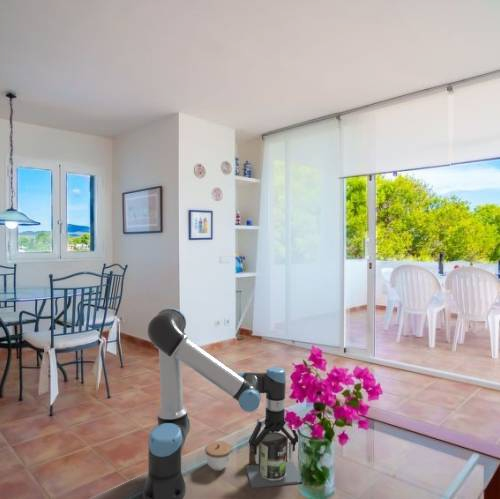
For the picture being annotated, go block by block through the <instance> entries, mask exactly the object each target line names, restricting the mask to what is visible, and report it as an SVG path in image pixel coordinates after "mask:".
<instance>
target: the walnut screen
mask: <svg viewBox="0 0 500 499" xmlns="http://www.w3.org/2000/svg"><path fill="white" fill-rule="evenodd" d="M285 436H286V435H285ZM286 438H287V436H286ZM248 444H249V443H248ZM258 446H259V464H260V458H261V442H260V443H259V445H258ZM288 451H289V439H288V438H287V442H286V462H288ZM248 452H249V453H248V463H249V465H258V464H257V463H256V460H255V455H254V453H253V446H250V444H249V450H248Z"/></svg>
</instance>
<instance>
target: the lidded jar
mask: <svg viewBox="0 0 500 499" xmlns="http://www.w3.org/2000/svg"><path fill="white" fill-rule="evenodd" d="M232 450H233V449H232V446H231V444H230V443H228V442H226V441H222V440H215V441H212V442H209V443H208V444H206V446H205V449H204V452H205V453H204V454H205V456H204V457H205V461H206V464H207V465H208V467H210V469H211V468H212V469H211V470H213V469H214V470H213V471H216V472H218V471H219V472H220V471H223V470H224V469H225V468H226V467H227V466H228V465H229V464H230V461H231V458H232V457H231V456H232ZM217 470H218V471H217Z"/></svg>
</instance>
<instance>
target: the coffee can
mask: <svg viewBox="0 0 500 499" xmlns="http://www.w3.org/2000/svg"><path fill="white" fill-rule="evenodd" d="M286 442H287V438H286V435H285V434H284V433H281V432H269V433H268V434H267V435H266V436H265V437H264V438H263V440H262V441H261V458H260V475H261V476H262V477H263V478H265V479H267V480H271V481H278V480H281V479H283V478H284V477H285V475H286V462H287V461H286Z"/></svg>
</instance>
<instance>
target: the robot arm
mask: <svg viewBox="0 0 500 499" xmlns="http://www.w3.org/2000/svg"><path fill="white" fill-rule="evenodd" d="M147 325H148V326H147V335H148V338H149V340H150V342H151V343H152V344H153V345H154V347H155V348H156V349H157V350H158V364H159V365H158V367H159V369H158V370H159V386H160V387H159V388H160V389H159V390H160V409H159V410H158V411H157V412H156V414H157V416H156V417H157V426H155V427H154V428H152V429H151V430H150V433H149V435H148V440H147V441H148V442H147V443H148V444H147V448H148V455H147V456H148V459H147V460H148V462H147V463H148V468H147V469H148V472H147V473H148V474H147V477H146V480H145V483H144V486H143V489H142V498H144V499H184V497H185V495H186V481H185V478H184V476H183V473H182V452H183V448H184V446H185V442H186V439H187V437H188V434H189V433H190V432H189V431H190V428H191V426H190V425H191V422H190V418H189V415H188V409H187V407H186V406H184V392H183V370H182V368H183V366H182V364H184V365H186V366H188V367H189V368H191V369H192V370H193V371H195V372H196V373H198V374H199V375H200V376H202V377H203V378H205V379H206V380H208V381H209V382H211V383H212V384H213V385H215V386H216V387H218V388H219V389H221V391H224V392H225V393H226V394H227V395H229V396H230V397H232V398H233V399H234V400H236V401H237V402H238V404H239V407H240V408H241V409H242V410H243V411H244V412H248V413H251V412H254V411H256V410H258V408H259V406H260V404H261V394H265V417H264V418H265V419H264V420H261V419H257V421H256V425H255V428H254V430H253V432H252V434H251V435H250V438H249V439H248V444H250V446H253V453H254V455H255V460H256V463H257V464H256V465H258V464H259V446H258V445H259V443H260V442H261V441H262V440H263V438H264V437H265V436H266V435H267V434H268V433H269V432H278V433H280V431H281V432H282V434H283V435H285V436H287V438H288V459H289V462H292V461H293V453H294V452H295V451H296V444H297V443H299V442H298V437H299V435H298V433H297V431H296V429H295V430H292V429H291V428H290V430H291V432H292V434H293V436H292V434H290V432H288V430H287V429H286V428H285V425H286V424H287V423H286V422H285V421H284V417H286V416H285V414H286V409H285V408H286V384H287V381H286V380H287V379H286V371H285V369H284V368H283V367H280V366H270V367H268V368H267V369H266V372H247V371H244V372H238V373H237V372H235V371H234V370H233V369H231V368H230V367H229V366H226V365H225V364H224V363H222V362H221V361H220V360H219V359H217V358H215V357H214V356H213V355H211V354H210V353H208V352H207V351H206V350H204V349H203V348H201V347H200V346H198V345H197V344H196V343H194V342H193V341H192V340H190V339H189V337H188V334H187V333H186V332H185V329H186V327H187V326H186V325H187V318H186V316H185V314H184V313H183V312H182V311H181V310H179V309H178V308H174V307H169V308H166V309H162V310H160V311H159V312H158V313H157V314H156V315H155V316H154V317H152V319H151V320H150V321H149V323H148V324H147ZM263 426H264V427H263ZM262 428H263V429H262ZM261 429H262V431H261Z"/></svg>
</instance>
